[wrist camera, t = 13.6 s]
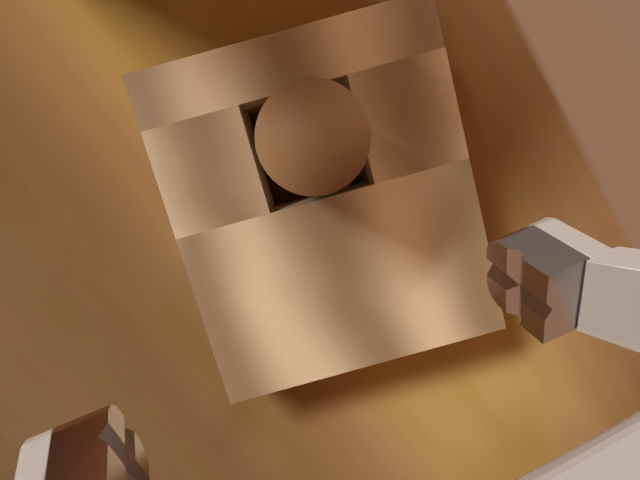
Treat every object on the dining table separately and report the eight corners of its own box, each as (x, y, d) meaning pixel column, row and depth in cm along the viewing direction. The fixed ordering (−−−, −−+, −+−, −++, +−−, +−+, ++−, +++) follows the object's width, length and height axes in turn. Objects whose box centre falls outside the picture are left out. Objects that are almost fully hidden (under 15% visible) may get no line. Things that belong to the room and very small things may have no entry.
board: (241, 368, 27) (230, 404, 23) (151, 89, 24) (121, 75, 20) (476, 304, 27) (506, 328, 23) (411, 16, 24) (432, -12, 20)
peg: (283, 192, 25) (272, 211, 16) (262, 121, 25) (237, 93, 15) (352, 173, 25) (385, 180, 16) (333, 102, 25) (355, 60, 15)
